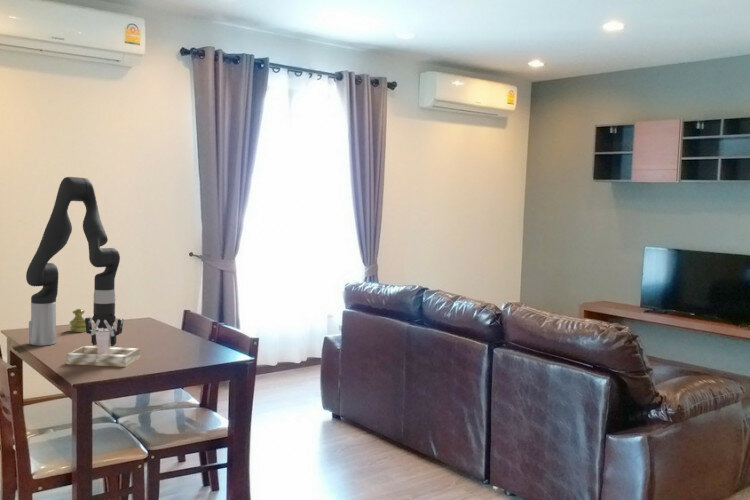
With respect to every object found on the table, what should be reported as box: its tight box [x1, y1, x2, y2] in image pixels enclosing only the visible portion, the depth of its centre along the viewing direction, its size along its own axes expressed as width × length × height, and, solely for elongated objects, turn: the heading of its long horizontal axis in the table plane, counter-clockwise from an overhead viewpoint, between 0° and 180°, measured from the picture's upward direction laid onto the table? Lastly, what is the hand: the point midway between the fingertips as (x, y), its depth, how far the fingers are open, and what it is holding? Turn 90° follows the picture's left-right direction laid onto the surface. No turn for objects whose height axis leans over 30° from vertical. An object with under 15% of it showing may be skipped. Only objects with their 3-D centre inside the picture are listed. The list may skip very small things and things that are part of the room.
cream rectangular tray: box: [65, 345, 141, 368], centre depth 254 cm, size 22×14×4 cm, turn 89°
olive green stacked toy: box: [69, 308, 86, 333], centre depth 304 cm, size 7×7×10 cm
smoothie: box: [95, 328, 112, 354], centre depth 253 cm, size 6×6×14 cm
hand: (103, 345), depth 253 cm, fingers closed on smoothie, 6 cm apart
